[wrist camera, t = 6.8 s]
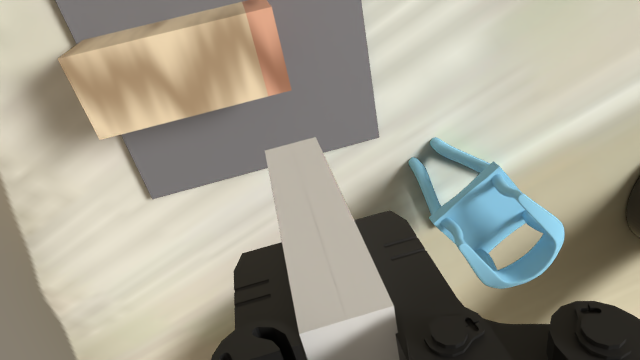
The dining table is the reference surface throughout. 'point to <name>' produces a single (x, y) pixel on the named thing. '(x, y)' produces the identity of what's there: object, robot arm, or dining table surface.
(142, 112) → the wood block
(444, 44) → the dining table surface
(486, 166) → the chair
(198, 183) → the mat
